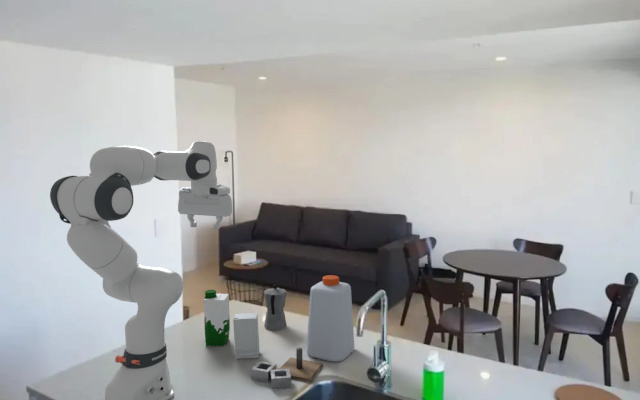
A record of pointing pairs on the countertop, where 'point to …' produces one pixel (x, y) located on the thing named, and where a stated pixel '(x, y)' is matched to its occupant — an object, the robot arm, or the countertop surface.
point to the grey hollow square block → (262, 371)
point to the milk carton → (216, 318)
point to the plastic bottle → (330, 320)
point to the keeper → (301, 367)
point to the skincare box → (246, 335)
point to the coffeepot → (275, 309)
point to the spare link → (280, 379)
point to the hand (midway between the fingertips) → (205, 227)
